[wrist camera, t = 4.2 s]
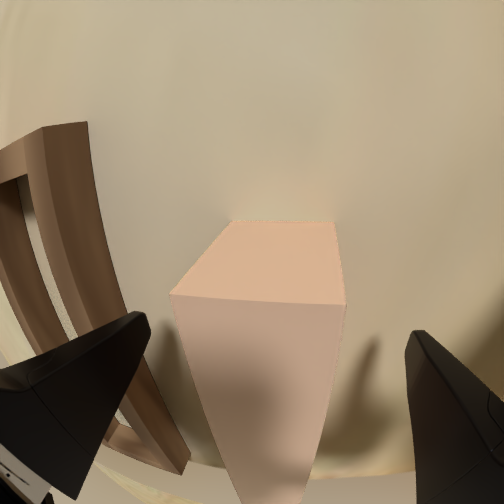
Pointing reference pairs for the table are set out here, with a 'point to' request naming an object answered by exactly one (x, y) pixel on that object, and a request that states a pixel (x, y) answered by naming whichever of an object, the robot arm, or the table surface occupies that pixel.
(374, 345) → the table surface
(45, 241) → the frame
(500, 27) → the table surface
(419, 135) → the table surface
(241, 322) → the clay strip
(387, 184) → the table surface
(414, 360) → the robot arm
